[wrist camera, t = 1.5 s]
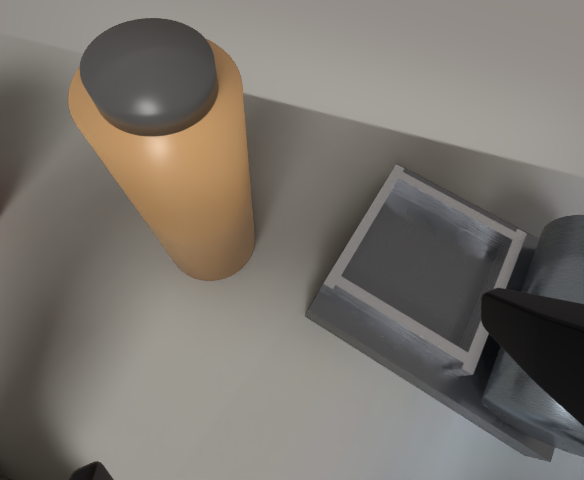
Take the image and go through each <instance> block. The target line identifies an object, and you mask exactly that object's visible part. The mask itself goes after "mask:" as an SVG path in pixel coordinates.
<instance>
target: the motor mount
mask: <svg viewBox="0 0 584 480" xmlns="http://www.w3.org/2000/svg"><path fill="white" fill-rule="evenodd" d="M495 288H504V289H509V290H514V291H519V292H524V293H530V294H535V295H540V296H545V297H550V298H556V299H561V300H566V301H571V302H576V303H581V304H584V215H572V216H566V217H562V218H559V219H556V220H554V221H552V222H550V223H549V224H547V225H546V226H545V227H544V229H543V231H542V233H541V236H540V239H538V238H536V237H534V236H532V235H530V234H528V233H526V232H524V231H523V230H521V229H519V228H517V227H515V226H513V225H511V224H509V223H508V222H506V221H504V220H502V219H500V218H498V217H496V216H494V215H492V214H491V213H489V212H487V211H485V210H483V209H481V208H479V207H477V206H476V205H474V204H472V203H470V202H468V201H466V200H464V199H462V198H460V197H459V196H457V195H455V194H453V193H451V192H449V191H447V190H445V189H444V188H442V187H440V186H438V185H436V184H434V183H432V182H430V181H428V180H427V179H425V178H423V177H421V176H419V175H417V174H415V173H413V172H412V171H410V170H408V169H406V168H404V167H402V166H400V165H398V164H396V165H395V167H394V169H393V170H392V172H391V173H390V175H389V177H388V178H387V180H386V182H385V183H384V185H383V187H382V188H381V190H380V191H379V193H378V195H377V196H376V198H375V200H374V201H373V203H372V205H371V206H370V208H369V210H368V211H367V213H366V214H365V216H364V218H363V219H362V221H361V223H360V224H359V226H358V228H357V229H356V231H355V232H354V234H353V236H352V237H351V239H350V241H349V242H348V244H347V246H346V247H345V249H344V251H343V252H342V254H341V255H340V257H339V259H338V260H337V262H336V264H335V265H334V267H333V269H332V270H331V272H330V273H329V275H328V277H327V278H326V280H325V282H324V283H323V285H322V287H321V289H320V291H319V293H318V294H317V296H316V297H315V299H314V301H313V302H312V304H311V306H310V307H309V309H308V311H307V313H306V315H305V317H307V318H309V319H310V320H312V321H313V322H315V323H317V324H318V325H320V326H321V327H323V328H324V329H326V330H328V331H329V332H331V333H332V334H334V335H335V336H337V337H339V338H340V339H342V340H343V341H345V342H346V343H348V344H350V345H351V346H353V347H354V348H356V349H358V350H359V351H361V352H362V353H364V354H365V355H367V356H369V357H370V358H372V359H373V360H375V361H376V362H378V363H380V364H381V365H383V366H384V367H386V368H387V369H389V370H391V371H392V372H394V373H395V374H397V375H399V376H400V377H402V378H403V379H405V380H406V381H408V382H410V383H411V384H413V385H414V386H416V387H417V388H419V389H421V390H422V391H424V392H425V393H427V394H428V395H430V396H432V397H433V398H435V399H436V400H438V401H440V402H441V403H443V404H444V405H446V406H447V407H449V408H451V409H452V410H454V411H455V412H457V413H458V414H460V415H462V416H463V417H465V418H466V419H468V420H469V421H471V422H473V423H474V424H476V425H477V426H479V427H481V428H482V429H484V430H485V431H487V432H488V433H490V434H492V435H493V436H495V437H496V438H498V439H499V440H501V441H503V442H504V443H506V444H507V445H509V446H510V447H512V448H514V449H515V450H517V451H518V452H520V453H522V454H523V455H525V456H529V457H533V458H537V459H541V460H545V461H549V462H551V459H552V455H553V451H554V448H555V447H556V448H558V449H561V450H563V451H566V452H569V453H572V454H575V455H579V456H582V457H584V426H582V425H581V424H580V423H579V422H578V421H577V420H576V419H575V418H574V417H573V416H571V415H570V414H569V413H568V412H567V411H566V410H565V409H564V408H563V407H561V406H560V405H559V404H558V403H557V402H556V401H555V400H554V399H553V398H552V397H550V396H549V395H548V394H547V393H546V392H545V391H544V390H543V389H542V388H541V387H539V386H538V385H537V384H536V383H535V382H534V381H533V380H532V379H531V378H530V377H529V376H528V375H527V374H526V373H525V372H524V371H523V370H522V369H521V367H520V366H519V365H518V364H517V363H516V362H515V361H514V360H513V359H512V358H511V357H510V356H509V355H508V353H507V352H506V351H505V350H504V349H503V348H502V347H501V346H500V345H499V344H498V343H497V342H496V341H495V339H494V338H493V337H492V336H491V335H490V334H489V333H488V332H487V331H486V330H485V328H484V327H483V325H482V322H481V297H482V295H483V294H484V293H485V292H488V291H490V290H492V289H495Z"/></svg>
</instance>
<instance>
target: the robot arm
mask: <svg viewBox="0 0 584 480" xmlns="http://www.w3.org/2000/svg"><path fill="white" fill-rule="evenodd" d="M481 322H482V325H483V327H484V328H485V330H486V331H487V332H488V333H489V334H490V335H491V336H492V337H493V338H494V339H495V341H496V342H497V343H498V344H499V345H500V346H501V347H502V348H503V349H504V350H505V351H506V352H507V353H508V355H509V356H510V357H511V358H512V359H513V360H514V361H515V362H516V363H517V364H518V365H519V366H520V367H521V369H522V370H523V371H524V372H525V373H526V374H527V375H528V376H529V377H530V378H531V379H532V380H533V381H534V382H535V383H536V384H537V385H538V386H539V387H541V388H542V389H543V390H544V391H545V392H546V393H547V394H548V395H549V396H550V397H552V398H553V399H554V400H555V401H556V402H557V403H558V404H559V405H560V406H561V407H563V408H564V409H565V410H566V411H567V412H568V413H569V414H570V415H571V416H573V417H574V418H575V419H576V420H577V421H578V422H579V423H580V424H581V425H582V426H584V304H581V303H576V302H571V301H566V300H561V299H556V298H550V297H545V296H540V295H535V294H530V293H524V292H519V291H514V290H509V289H504V288H495V289H492V290H490V291H488V292H485V293H484V294H483V295H482V297H481ZM69 480H113V478H112V477H111V475H110V474H109V472H108V471H107V470H106V468H105V467H104V465H103V464H102V463H101V462H98V461H96V462H93V463H90V464H88V465H86V466H83V467H81V468H79V469H77V470H76V471H75V472H74V473H73V474H72V475H71V477H70V478H69Z"/></svg>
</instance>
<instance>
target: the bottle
mask: <svg viewBox="0 0 584 480" xmlns="http://www.w3.org/2000/svg"><path fill="white" fill-rule="evenodd" d="M68 101H69V109H70V113H71V116H72V118H73V120H74V122H75V124H76V125H77V127H78V128H79V130H80V131H81V132H82V134H83V135H84V137H85V138H86V139H87V141H88V142H89V144H90V145H91V146H92V148H93V149H94V151H95V152H96V153H97V155H98V156H99V157H100V159H101V160H102V162H103V163H104V164H105V166H106V167H107V169H108V170H109V171H110V173H111V174H112V176H113V177H114V178H115V180H116V181H117V183H118V184H119V185H120V187H121V188H122V190H123V191H124V192H125V194H126V195H127V197H128V198H129V199H130V201H131V202H132V204H133V205H134V206H135V208H136V209H137V210H138V212H139V213H140V215H141V216H142V217H143V219H144V220H145V222H146V223H147V224H148V226H149V227H150V229H151V230H152V231H153V233H154V234H155V236H156V237H157V238H158V240H159V241H160V243H161V244H162V245H163V247H164V248H165V250H166V251H167V252H168V254H169V255H170V257H171V258H172V259H173V261H174V262H175V263H176V265H177V266H178V267H179V268H180V269H181V270H182V271H183V272H184V273H186V274H187V275H189V276H191V277H193V278H196V279H200V280H206V281H214V280H220V279H224V278H227V277H229V276H231V275H233V274H235V273H236V272H238V271H239V270H240V269H241V268H243V267H244V265H245V264H246V263H247V262H248V260H249V259H250V257H251V255H252V253H253V249H254V245H255V233H254V221H253V209H252V196H251V184H250V172H249V160H248V148H247V136H246V124H245V111H244V99H243V88H242V81H241V76H240V73H239V70H238V68H237V66H236V64H235V63H234V61H233V60H232V58H231V57H230V56H229V55H228V54H227V53H226V52H225V51H224V50H223V49H221V48H220V47H219V46H218V45H216V44H215V43H213V42H211V41H209V40H207V39H205V38H204V37H203V36H202V35H201V34H200V33H199V32H197V31H196V30H195V29H193V28H191V27H189V26H187V25H185V24H183V23H179V22H177V21H173V20H168V19H160V18H146V19H137V20H133V21H128V22H124V23H121V24H118V25H116V26H114V27H112V28H110V29H108V30H106V31H104V32H103V33H102V34H100V35H99V36H98V37H96V38H95V39H94V40H93V41H92V42H91V44H90V45H89V46H88V47H87V49H86V50H85V52H84V54H83V56H82V59H81V62H80V67H79V68H78V70H77V72H76V73H75V75H74V77H73V79H72V82H71V85H70V89H69V96H68Z"/></svg>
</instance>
